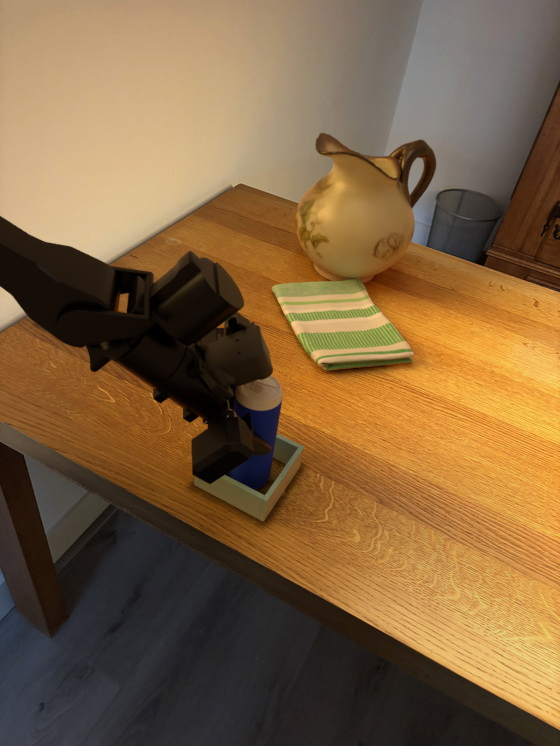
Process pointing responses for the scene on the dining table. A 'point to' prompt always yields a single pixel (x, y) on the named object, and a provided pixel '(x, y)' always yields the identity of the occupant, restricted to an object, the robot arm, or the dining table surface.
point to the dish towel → (341, 325)
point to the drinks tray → (250, 498)
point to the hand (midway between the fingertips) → (265, 434)
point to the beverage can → (258, 427)
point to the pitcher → (361, 209)
